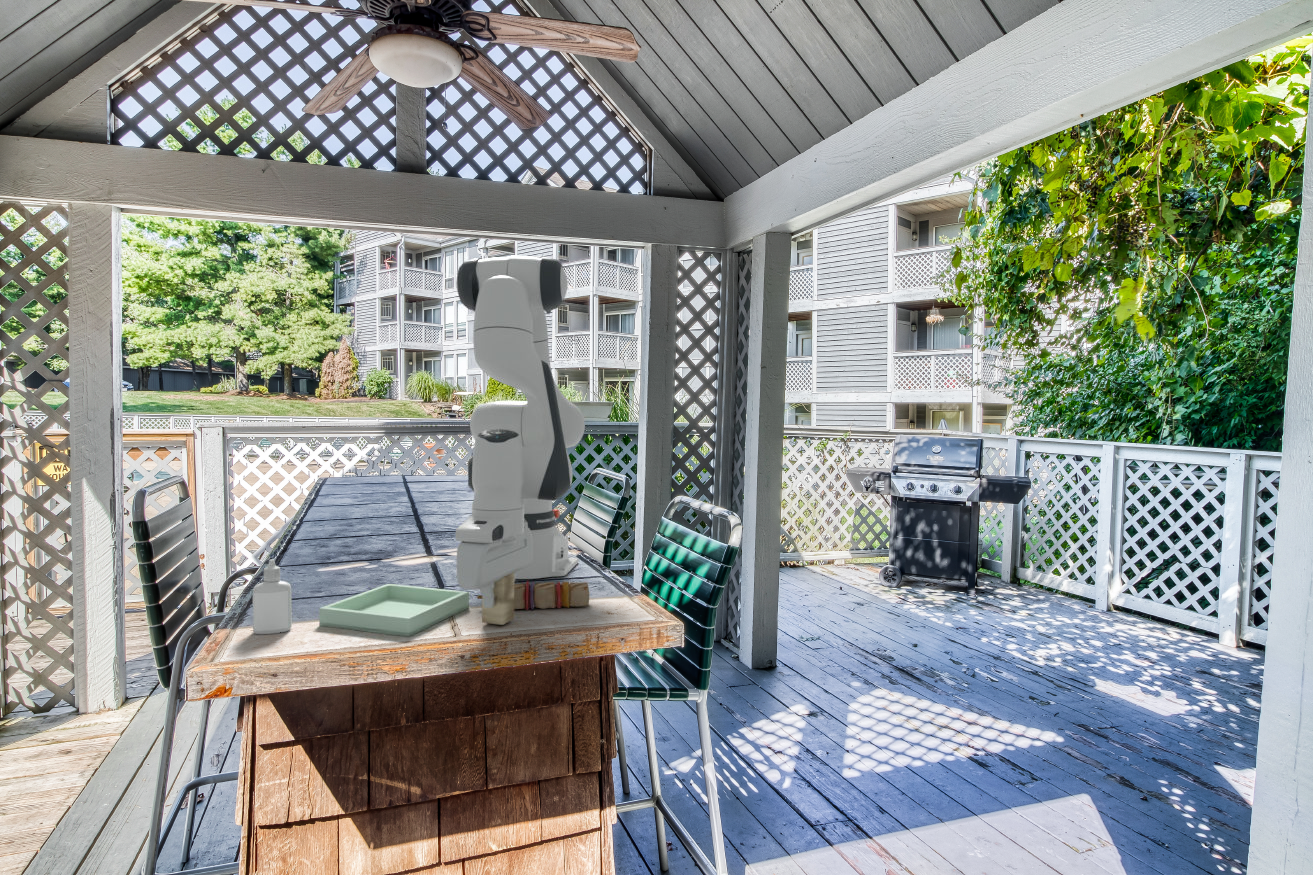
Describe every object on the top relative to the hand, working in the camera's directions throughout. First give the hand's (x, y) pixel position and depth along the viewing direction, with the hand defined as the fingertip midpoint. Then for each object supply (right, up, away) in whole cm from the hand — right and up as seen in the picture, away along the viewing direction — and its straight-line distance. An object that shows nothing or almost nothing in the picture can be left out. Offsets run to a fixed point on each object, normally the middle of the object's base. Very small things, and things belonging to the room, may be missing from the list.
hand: (498, 602), depth 126 cm
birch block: (0, -3, 0) cm, 3 cm away
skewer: (+4, -4, +11) cm, 12 cm away
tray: (-19, -3, +4) cm, 19 cm away
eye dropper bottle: (-36, -4, -5) cm, 37 cm away
